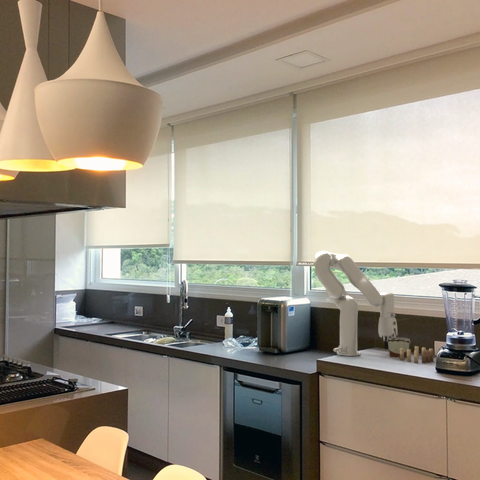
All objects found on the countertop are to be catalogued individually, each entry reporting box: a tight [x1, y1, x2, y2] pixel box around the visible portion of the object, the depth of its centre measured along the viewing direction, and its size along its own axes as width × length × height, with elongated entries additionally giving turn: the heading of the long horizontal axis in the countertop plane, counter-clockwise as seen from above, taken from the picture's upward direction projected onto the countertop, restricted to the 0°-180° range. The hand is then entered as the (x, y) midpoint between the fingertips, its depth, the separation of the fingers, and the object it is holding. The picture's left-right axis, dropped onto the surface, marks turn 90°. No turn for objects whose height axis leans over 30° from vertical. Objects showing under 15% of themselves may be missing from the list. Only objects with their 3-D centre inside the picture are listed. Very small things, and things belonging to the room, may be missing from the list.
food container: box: [387, 337, 412, 359], centre depth 298 cm, size 12×6×10 cm, turn 74°
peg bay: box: [399, 345, 435, 364], centre depth 287 cm, size 14×14×6 cm
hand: (387, 348), depth 304 cm, fingers closed
